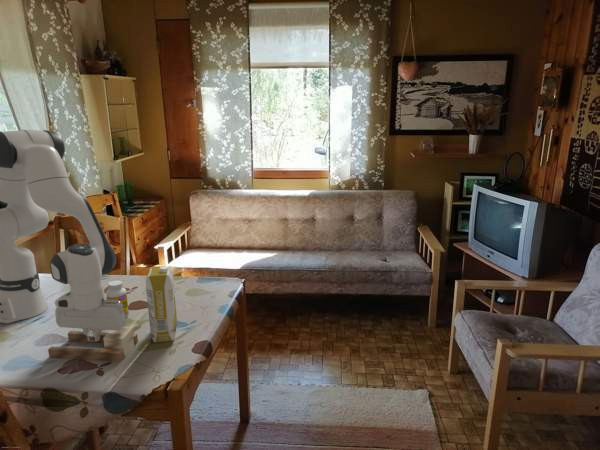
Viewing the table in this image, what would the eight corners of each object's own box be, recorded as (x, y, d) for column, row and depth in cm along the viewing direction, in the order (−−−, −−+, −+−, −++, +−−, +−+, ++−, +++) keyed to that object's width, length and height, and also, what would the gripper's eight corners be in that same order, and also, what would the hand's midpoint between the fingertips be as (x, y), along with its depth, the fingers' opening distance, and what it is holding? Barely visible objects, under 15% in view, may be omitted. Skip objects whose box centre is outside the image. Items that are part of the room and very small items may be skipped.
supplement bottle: (122, 321, 152) (117, 287, 149) (105, 319, 154) (100, 285, 150) (132, 312, 159) (129, 280, 155) (116, 311, 160) (112, 278, 157)
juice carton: (176, 342, 139) (170, 271, 133) (150, 344, 137) (143, 273, 131) (178, 328, 148) (172, 261, 142) (154, 330, 146) (147, 263, 140)
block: (105, 355, 129) (103, 337, 127) (115, 345, 135) (113, 327, 133) (125, 356, 128) (122, 338, 127) (134, 346, 134) (132, 328, 133)
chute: (50, 361, 128) (47, 348, 127) (72, 342, 139) (70, 330, 138) (121, 365, 126) (119, 352, 125) (138, 345, 137) (137, 333, 136)
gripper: (127, 295, 130) (131, 336, 134) (62, 292, 132) (68, 333, 136) (116, 304, 124) (121, 347, 128) (49, 301, 126) (56, 343, 130)
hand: (94, 340), depth 132 cm, fingers closed
